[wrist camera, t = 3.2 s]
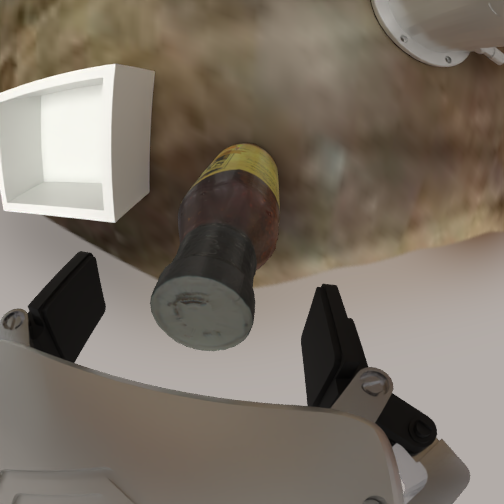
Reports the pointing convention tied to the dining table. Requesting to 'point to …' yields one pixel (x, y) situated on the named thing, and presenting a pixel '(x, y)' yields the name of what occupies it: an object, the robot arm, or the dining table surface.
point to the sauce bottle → (220, 251)
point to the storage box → (77, 143)
